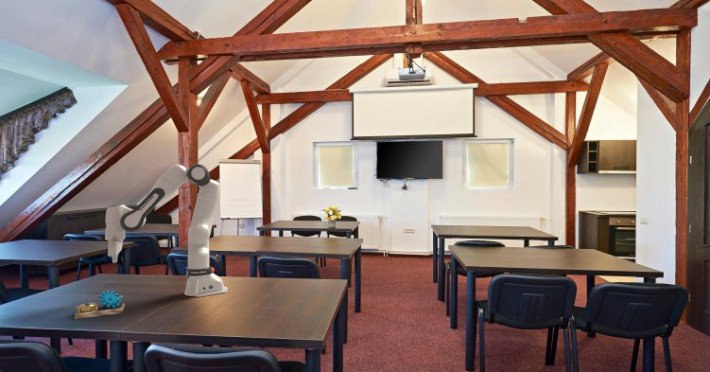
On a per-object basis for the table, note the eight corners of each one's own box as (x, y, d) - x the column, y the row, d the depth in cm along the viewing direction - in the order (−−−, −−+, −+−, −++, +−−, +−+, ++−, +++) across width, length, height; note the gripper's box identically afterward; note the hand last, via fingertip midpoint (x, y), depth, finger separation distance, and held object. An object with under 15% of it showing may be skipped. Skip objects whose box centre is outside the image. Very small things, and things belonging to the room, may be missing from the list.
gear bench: (124, 305, 184) (124, 301, 184) (121, 313, 173) (121, 308, 173) (80, 310, 176) (80, 306, 176) (74, 318, 165) (74, 314, 165)
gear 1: (98, 308, 178) (98, 299, 178) (95, 312, 171) (95, 303, 171) (79, 310, 175) (79, 301, 175) (75, 315, 168) (75, 305, 168)
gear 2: (104, 307, 176) (97, 290, 180) (97, 315, 178) (91, 298, 182) (127, 304, 186) (120, 288, 190) (120, 311, 187) (114, 295, 192)
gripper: (119, 237, 185) (119, 265, 185) (124, 233, 204) (124, 258, 203) (104, 238, 183) (104, 266, 182) (111, 233, 201) (110, 259, 201)
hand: (114, 262), depth 193 cm, fingers closed
